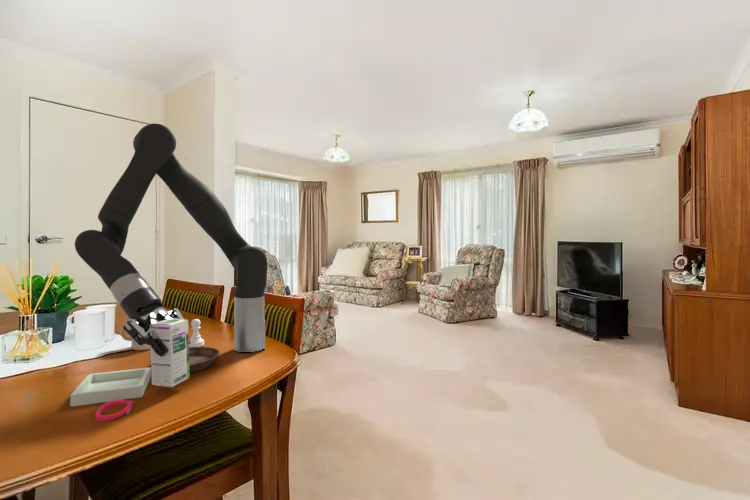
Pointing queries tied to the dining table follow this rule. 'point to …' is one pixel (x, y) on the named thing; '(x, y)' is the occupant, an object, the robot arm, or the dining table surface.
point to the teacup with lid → (134, 343)
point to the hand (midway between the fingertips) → (176, 349)
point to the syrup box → (171, 353)
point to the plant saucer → (200, 357)
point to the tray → (111, 386)
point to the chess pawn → (196, 334)
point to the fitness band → (109, 417)
